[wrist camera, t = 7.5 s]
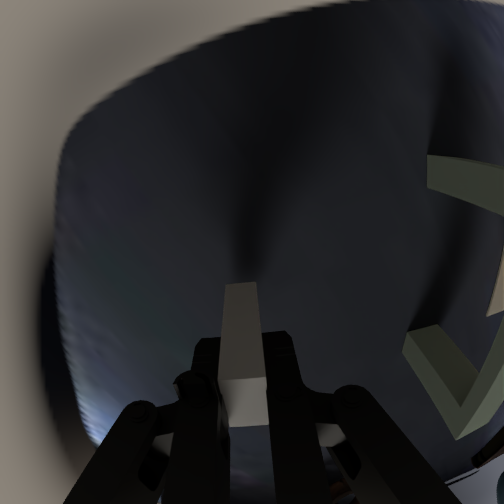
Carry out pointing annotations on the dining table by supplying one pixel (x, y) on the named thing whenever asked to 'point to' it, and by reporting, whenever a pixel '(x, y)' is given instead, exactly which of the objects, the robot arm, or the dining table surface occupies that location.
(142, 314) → the dining table surface
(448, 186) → the bridge
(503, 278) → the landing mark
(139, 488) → the robot arm
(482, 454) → the diary
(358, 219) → the dining table surface
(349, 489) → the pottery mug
